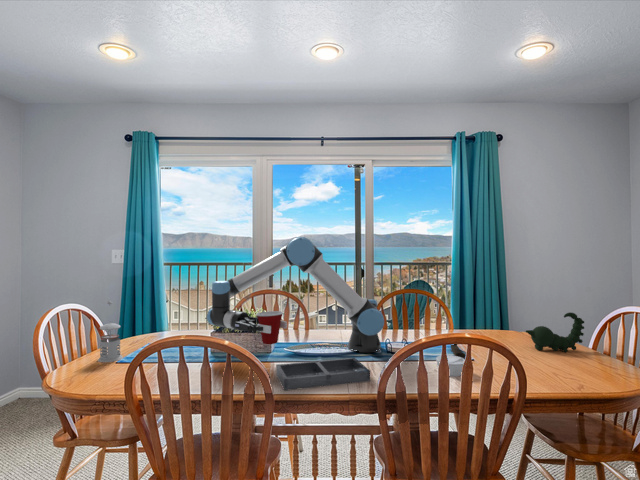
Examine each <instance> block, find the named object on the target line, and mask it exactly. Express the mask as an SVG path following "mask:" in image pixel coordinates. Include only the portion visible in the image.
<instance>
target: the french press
mask: <svg viewBox="0 0 640 480" xmlns="http://www.w3.org/2000/svg"><path fill="white" fill-rule="evenodd" d="M106 304H107V305H112V304H113V301H111V300H110V301H107V303H106ZM120 328H121V325H120V324H117V323H114V322H108V323H105V324H103V325H101V326H100V327H99V330H101V331H104V332H103V335H102V336H101V337H100V338H101V340H99V347H100V348H99V355H100V357H99V358H98V359H97V362H99V363H113V362H116V361H120V360H122V359H123V358H124V357H123V355H121V338H119V337H120V335H119V334H117V333H116V334H115V333H113V334H111V333H110V332H111V331H113V330H118V329H120ZM106 332H107V334H106ZM105 334H106V335H105Z"/></svg>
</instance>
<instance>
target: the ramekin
mask: <svg viewBox="0 0 640 480" xmlns="http://www.w3.org/2000/svg"><path fill="white" fill-rule="evenodd" d="M446 355H447V358H448V364H449V369H450V376H449V377H460V376H462V375H461V372H462V367H463V364H464V361H465V360H466V358H465V359H463V358H461V357H458V356H454V354H446ZM440 358H441V355H438V356H436V357H435V361H436V365H437V368H438V366H439V362H440Z"/></svg>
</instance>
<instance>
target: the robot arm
mask: <svg viewBox="0 0 640 480" xmlns="http://www.w3.org/2000/svg"><path fill="white" fill-rule="evenodd" d="M294 265H296V266H297V268H298V269H299V270H300V271H302V273H305V274H309V275H310V276H311V277H313V279H314V280H315V281H316V282H317V283H318V284H319V285H320V286H321V287H322V288H323V289H324V290H325V291H326V292H327V293H328V294H329V295H330V296H331V297H332V298H333V299H334V300H335V301H336V302H337V303H338V304H339V305H340V306H341V307H342V308H343V309H344V310H345V311H346V312H347V318H348V319H349V320H350V321H351V323H352V324H351V327H352V329H351V334H350V336H349V337H350V338H349V341H348V349H349V350H350V349H353V350H357V351H359V352H358V353H366V354H367V353H375V352H374V351H376V350H379V349H380V350H381V348H382V344H381V341H380V337H379V335H378V334H379V333H380V332H381V331H382V329H383V328H384V326H385V319H384V315H383V313H382V312H381V311H380V310H379V309H378V301H377V300H376V299H369V298H367V297H361V296H360V294H358V293H357V292H356V290H354V289H353V288H352V287H351V286H350V285H349V284H348V283H347V282H346V281H345V280H344V278H343V277H341V276H340V274H338V273H337V272H336V271H335V270H334V269H333V268H332V267H331V265H330V264H328V262H327V261H325V259H324V258H323V253H322V252H321V251H320V249H318V247H317V246H315V245H314V243H313V242H312V241H311V240H310V239H309V238H308V237H305V236H304V237H303V236H298V237H297V236H296V237H294V238H293V239H292V240H290V241H289V243H287V244H286V245H285V246H283V247H281V248H280V250H279V252H276V253H274V254H273V255H270V257H268V258H266V259H263V260H262V261H261V262H258V263H257V264H255V265H252V266H251V267H250V268H247V269H246V270H244V271H242V272H240V273H239V274H237V275H235V276H233V277H232V278H230V279H227V280H216V281H213V282H212V284H211V285H212V286H211V301H212V302H211V303H212V304H211V308H210V309H209V310H208V312H207V314H206V320H207V322H208V324H210V325H212V326H215V327H219V328H225V329H230V330H231V331H233V330H237V331H246V332H248V333H253V334H257V332H260V333H261V332H264V333H269V334H270V333H271V326H267V325H262V324H259V321H258V317H257V316H256V317H255V316H250V315H249V314H248V312H245V311H239V310H232V309H231V298H232V297H234V296H236V295H237V294H239V293H241V292H244V291H245V290H247V289H248V288H251V287H252V286H254V285H255V284H257V283H259V282H261V281H263V280H265V279H266V278H269V277H270V276H272V275H273V274H275V273H278V272H280V271H281V270H283V269H285V268H287V267H293V266H294ZM280 329H284V330H285V329H288V322H287V320H286V321H285V320H281V323H280ZM380 350H379V351H380ZM376 352H377V351H376Z"/></svg>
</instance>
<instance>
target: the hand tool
mask: <svg viewBox="0 0 640 480" xmlns="http://www.w3.org/2000/svg"><path fill="white" fill-rule="evenodd" d="M450 351H451V353H452V355H453V356H458V357H461V358H463V359H465V360H466V354H465V353H464V352H463V351H462V350H461V349H460V347H459V346H458V343H457V344H454V345H451V344H450Z"/></svg>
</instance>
